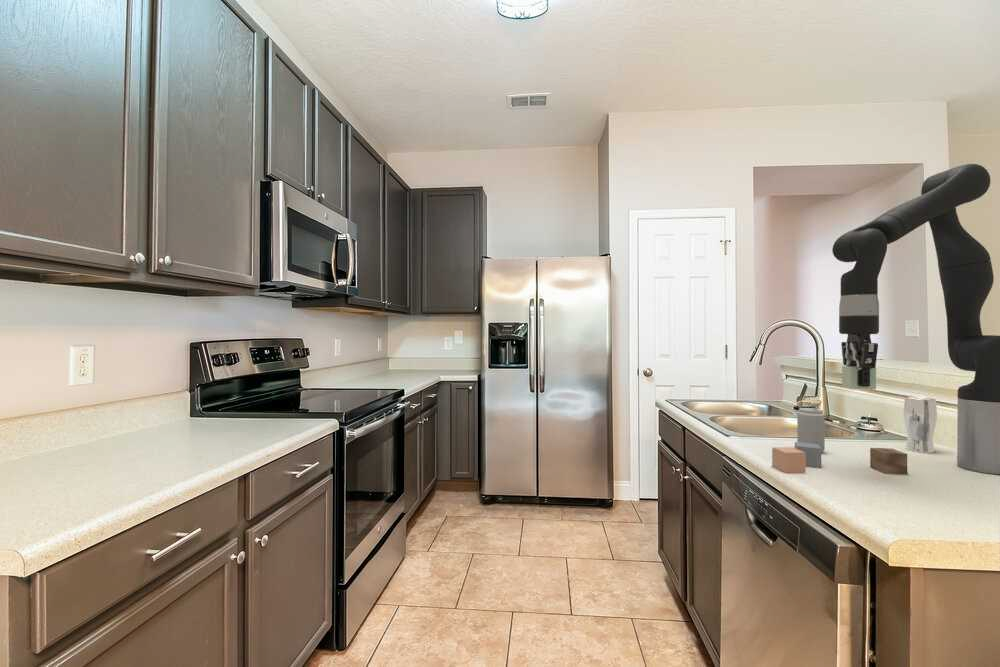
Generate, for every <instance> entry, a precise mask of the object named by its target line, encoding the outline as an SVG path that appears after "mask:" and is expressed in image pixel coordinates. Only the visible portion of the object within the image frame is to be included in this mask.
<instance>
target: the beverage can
mask: <svg viewBox="0 0 1000 667" xmlns="http://www.w3.org/2000/svg"><path fill="white" fill-rule="evenodd" d="M796 416H797V418H796V419H797V420H796V421H797V425H796V426H797V428H796V429H797V431H796V432H797V441H796V442H801V443H812V444H818V445H819V446H820V447H821V454H822V453H823V452H825V450H826V449H825V446H826V444H825V443H826V442H825V440H826V439H825V432H826V431H825V424H826V423H825V420H826V419H825V414H824V411H823V409H820V408H813V407H812V408H811V407H800V408H798V411H797V415H796Z"/></svg>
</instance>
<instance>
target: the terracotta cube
mask: <svg viewBox="0 0 1000 667" xmlns="http://www.w3.org/2000/svg"><path fill="white" fill-rule="evenodd" d="M771 449H772V450H771V452H772V453H771V454H772V455H771V459H772V461H771V463H772V464H771V467H772V468H774V469H776V470H778V471H781V472H782V473H784V474H805V473H804V472H806V469H807V468H806V467H807V466H806V452H803V451H800V450H798V449H795V447H793V446H792V447H791V446H787V447H786V446H778V447H777V446H774V447H773V446H772V448H771Z"/></svg>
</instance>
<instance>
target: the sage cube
mask: <svg viewBox="0 0 1000 667" xmlns="http://www.w3.org/2000/svg"><path fill="white" fill-rule="evenodd" d="M859 371H860V370H859ZM841 386H842V387H843V388H847V389H849V390H850V389H855V390H856V389H857V390H858V389H859V390H877V368H876V367H875V368H872V370H871V371H870V386H869V387H861V386H858V369H857V366H846V365H841Z"/></svg>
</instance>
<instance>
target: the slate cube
mask: <svg viewBox="0 0 1000 667" xmlns="http://www.w3.org/2000/svg"><path fill="white" fill-rule="evenodd" d="M794 448H795V449H798V450H800V451H803V452H806V467H807V466H809V467H808V468H816V467H817V468H818V469H822V453H821V447H820V446H819V445H818V444H812V443H801V442H797V441H794Z"/></svg>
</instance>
